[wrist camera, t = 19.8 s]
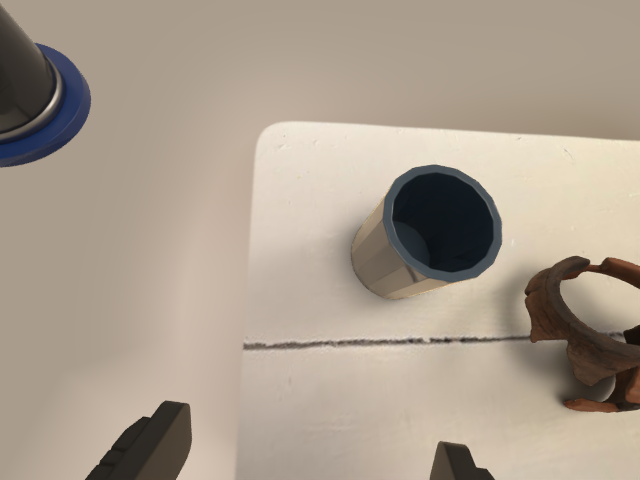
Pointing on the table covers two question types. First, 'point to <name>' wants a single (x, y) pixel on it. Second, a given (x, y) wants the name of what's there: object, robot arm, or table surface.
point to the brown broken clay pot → (587, 333)
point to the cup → (427, 234)
